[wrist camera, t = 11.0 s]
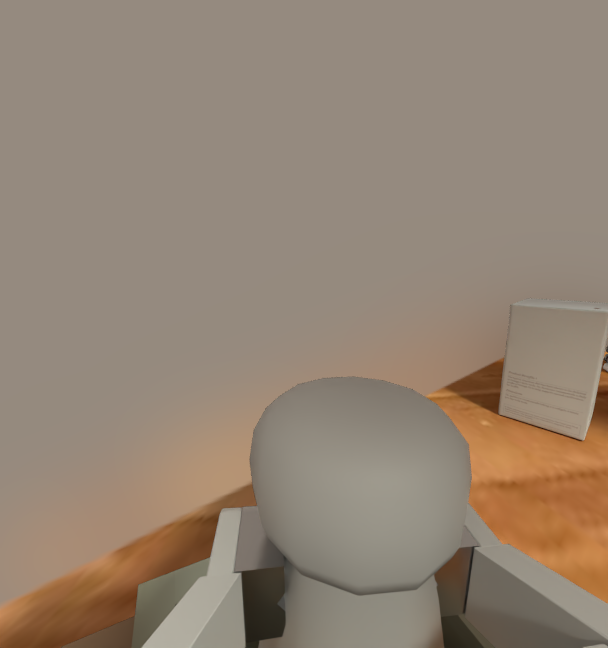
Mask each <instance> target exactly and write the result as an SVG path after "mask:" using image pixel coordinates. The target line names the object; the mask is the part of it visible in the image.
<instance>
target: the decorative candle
mask: <svg viewBox="0 0 608 648" xmlns="http://www.w3.org/2000/svg"><path fill="white" fill-rule="evenodd" d="M606 351H607V352H608V346H607V347H606ZM604 360H605V361H606V362H607V363H605V364H604V366H603V369H604V370H606V371H607V372H608V354H606V355H605V357H604Z"/></svg>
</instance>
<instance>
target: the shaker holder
mask: <svg viewBox="0 0 608 648" xmlns="http://www.w3.org/2000/svg"><path fill="white" fill-rule="evenodd" d="M209 561H210V557H209V558H207V559H204V560H202V561H199V562H196V563H194V564H191V565H189V566H186V567H183V568H181V569H178V570H176V571H173V572H170V573H168V574H165V575H163V576H160V577H157V578H155V579H152V580H150V581H147V582H144V583H142V584H139V585H138V593H137V602H136V611H135V616H134V617H131V618H129V619H127V620H124V621H122V622H119V623H117V624H115V625H112V626H110V627H108V628H105V629H103V630H100V631H98V632H96V633H93V634H91V635H88V636H86V637H84V638H81V639H79V640H77V641H74V642H72V643H69V644H67V645H65V646H62V647H61V648H141V647H142V646H143V645H144V644H145V643H146V641H147V640H148V639H149V638H150V636H151V635H152V634H153V633H154V632H155V630H156V629H157V628H158V627H159V625H160V624H161V623H162V622H163V621H164V619H165V618H166V617H167V616H168V614H169V613H170V612H171V611H172V610H173V608H174V607H175V606H176V605H177V603H178V602H179V601H180V600H181V599H182V597H183V596H184V595H185V594H186V592H187V591H188V590H189V589H190V588H191V586H192V585H193V584H194V583H195V582H196V580H197V579H198V578H199V577H203V576H206V575H207V570H208V565H209ZM441 624H442V632H443V641H444V648H495V647H494V646H493V645H492V644H491V643H490V642H489V641H488V640H487V639H486V638H485V637H484V636H483V635H482V634H481V633H480V632H479V631H478V630H477V629H476V628H475V627H474V626H473V625H472V624H471V623H470V622H469V621H468V620H467V619H466V618H465V615H454V616H443V617H441ZM245 646H246V647H245V648H258V646H259V641H255V642H249V643H245Z"/></svg>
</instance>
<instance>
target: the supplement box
mask: <svg viewBox="0 0 608 648" xmlns="http://www.w3.org/2000/svg"><path fill="white" fill-rule="evenodd" d="M607 337H608V303H596V302H582V301H565V300H547V299H525V300H522V301H520V302H517V303H515V304H512V305H510V317H509V326H508V334H507V343H506V351H505V358H504V366H503V374H502V383H501V393H500V402H499V413H498V414H499V415H502V416H506V417H509V418H512V419H516V420H519V421H522V422H525V423H528V424H532V425H535V426H538V427H541V428H544V429H547V430H551V431H554V432H557V433H560V434H563V435H566V436H570V437H573V438H576V439H579V440H583V441H584V439H585V436H586V433H587V430H588V427H589V425H590V422H591V418H592V414H593V410H594V405H595V400H596V394H597V389H598V384H599V378H600V373H601V368H602V363H603V358H604V353H605V348H606V342H607Z"/></svg>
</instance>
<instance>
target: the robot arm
mask: <svg viewBox="0 0 608 648" xmlns="http://www.w3.org/2000/svg"><path fill="white" fill-rule="evenodd" d="M434 577H435V581H436V582H437V586H436V588H437V593H438V598H439V607H440V615H441V617H443V616H454V615H465V618H466V619H467V620H468V621H469V622H470V623H471V624H472V625H473V626H474V627H475V628H476V629H477V630H478V631H479V632H480V633H481V634H482V635H483V636H484V637H485V638H486V639H487V640H488V641H489V642H490V643H491V644H492V645H493V646H494V647H495V648H608V604H607V603H605V602H604V601H602V600H600V599H599V598H597V597H595V596H594V595H592V594H590V593H589V592H587V591H585V590H584V589H582V588H580V587H579V586H577V585H576V584H574V583H572V582H571V581H569V580H567V579H566V578H564V577H562V576H561V575H559V574H557V573H556V572H554V571H552V570H551V569H549V568H547V567H546V566H544V565H543V564H541V563H539V562H538V561H536V560H534V559H533V558H531V557H529V556H528V555H526V554H524V553H523V552H521V551H519V550H518V549H516V548H514V547H513V546H511V545H510V544H502V543H501V542H500V541H499V539H498V538H497V537H496V536H495V535H494V533H493V532H492V531H491V530H490V529H489V527H488V526H487V525H486V524H485V522H484V521H483V520H482V519H481V518H480V516H479V515H478V514H477V513H476V512H475V510H474V509H473V508H472V507H471V505H470V504H469V503H468V506H467V512H466V518H465V523H464V529H463V534H462V539H461V545H460V547H459V549H458V550H457V552H456V553H455V554H454V556H453V557H452V559H450V560H449V561H448V562H447V563H446V564H445V565H444V566H443V567H442V568H440V569H439V570H438V571H437V572H436V573H435V574H434ZM284 594H285V576H284V555H283V554H282V553H281V552H280V550H279V549H278V548H277V547H276V546H275V545H274V544H273V543H272V542H271V540H270V539H269V538H268V537H267V535H266V533H265V531H264V529H263V527H262V525H261V520H260V516H259V512H258V507H257V506H248V507H242V508H223V509H222V511H221V513H220V515H219V520H218V524H217V529H216V533H215V538H214V543H213V547H212V552H211V556H210V561H209V565H208V570H207V575H206V576H203V577H199V578H198V579H197V580H196V582H195V583H194V584H193V585H192V586H191V588H190V589H189V590H188V591H187V592H186V594H185V595H184V596H183V597H182V599H181V600H180V601H179V602H178V603H177V605H176V606H175V607H174V608H173V610H172V611H171V612H170V613H169V614H168V616H167V617H166V618H165V619H164V621H163V622H162V623H161V624H160V625H159V627H158V628H157V629H156V630H155V632H154V633H153V634H152V635H151V636H150V638H149V639H148V640H147V641H146V643H145V644H144V645H143V646H142V647H141V648H245V647H246V646H245V643H249V642H255V641H261V640H267V639H273V638H279V637H282V636H283V632H284V629H285V625H286V615H285V599H284Z"/></svg>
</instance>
